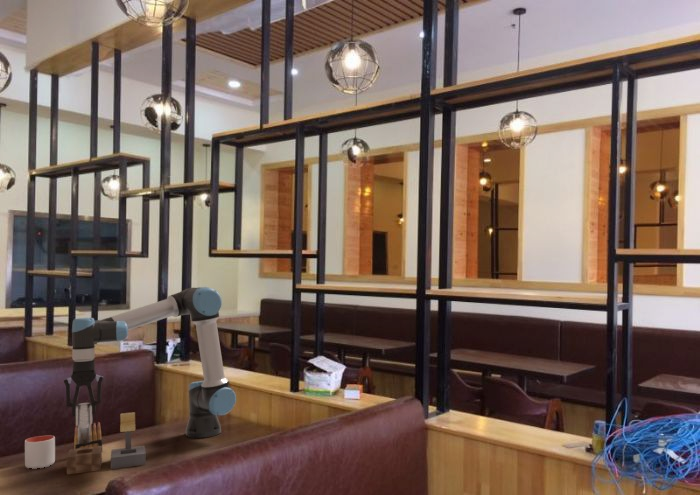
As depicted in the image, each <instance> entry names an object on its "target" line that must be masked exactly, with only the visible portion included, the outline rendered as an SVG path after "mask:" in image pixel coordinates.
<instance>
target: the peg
mask: <svg viewBox="0 0 700 495" xmlns="http://www.w3.org/2000/svg"><path fill="white" fill-rule="evenodd" d="M90 405H91V402H82V403H78V404H77V406H78V426H77V428H78V444H86V443H90Z"/></svg>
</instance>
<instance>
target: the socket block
mask: <svg viewBox="0 0 700 495" xmlns="http://www.w3.org/2000/svg"><path fill="white" fill-rule="evenodd" d="M124 434H125V436H124V440H125V443H124V444H125V445H124V446H125V447H123V448H114V449H111V450H110V470H116V469H123V468H129V467H136V466H137V467H140V466H145V465H146V464H147V463H146V461H147V457H146V454H147V453H146V446H145V445H139V446H132V431H126V432H124Z"/></svg>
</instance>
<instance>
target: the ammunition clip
mask: <svg viewBox="0 0 700 495" xmlns="http://www.w3.org/2000/svg"><path fill="white" fill-rule="evenodd" d="M92 424H93V425H92ZM92 424H90V443H86V444H78V426H76V425H75V427H74V437H73V438H74V439H73V449H78V448H87V447H95V446H102V447H103V440H102V430H101V423H100V422H99V421H98V422H97V426H96V422H93V423H92Z"/></svg>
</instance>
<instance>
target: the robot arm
mask: <svg viewBox="0 0 700 495" xmlns="http://www.w3.org/2000/svg"><path fill="white" fill-rule="evenodd" d="M222 304H223V302H222V297H221V295H220V293H219V292H218V291H217V290H216V289H215V288H212V287H207V286H200V287H189V288H185V289H184V290H182V291H179V292H177V293H173V294H170V295H168V296H167V297H166V298H165V299H162V300H160V301H157V302H154V303H150V304H147V305H143V306H140V307H138V308H135V309H132V310H128V311H125V312H122V313H119V314H115V315H112V316H109V317H107V318H102V319H97V320H95V318H94V317H81V318H80V317H79V318H74V319H73V320H72V326H71V327H72V328H71V335H72V336H71V338H72V350H71V352H72V354H71V355H72V360H73V362H72V374H71V376H70V377H67V378H64V379H63V383H64V386H65V390H66V391H65V395H66V406H67V407H71V408H72V417H75V427H76V426H77V427H78V404H77V403H78V399H79V394H80V391H81V387H82V386H85V387H87V390H88V391H87V392H88V394H89V398H90V424H91V425H92V424H93V415H95V414H96V413H97V412H96V411H97V409H96V405H99V404H101V402H102V382H103V380H104V376H103V375H98V374H97V373H96V368H95V367H96V366H95V365H96V362H95V361H96V360H94V359H95V356H96V355H95V352H96V351H95V350H96V349H95V344H97V343H99V344H100V343H106V342H107V343H108V342H119V341H120V342H121V341H125V340H126V339H127V338H128V333H129V331H130V330H133V329H137V328H140V327H143V326H146V325H149V324H152V323H154V322H155V323H156V322H158V321H161V320H163V319H167V318H170V317H174V318H177V317H180V316H186V315H188V316H189V315H190V321H191V323H193V324H194V325H195V329H196V336H197V342H198V349H199V355H200V362H201V370H202V375H203V380H200V381H199V380H198V381H193V382H191V383H189V384H188V405H189V406H188V408H189V409H188V410H189V418H188V421H187V425H186V428H185V436H186V437H187V436H188V438H191V439H192V438H194V439H197V438H198V439H200V438H209V437H214V436H217V435H220V434H221V433H222V428H221V423H220V421H219V418H218V416H225V415H227V414H229V413H230V412H231V411H232V410H233V408H235V405H236V404H237V403H236V402H237V396H236V392H235V391H234V390H233V389H232V388H231V386H230V381H229V378H228V377H226V376H225V372H224V371H225V369H224V364H223V357H222V351H221V345H220V338H219V331H218V325H217V321H218V319H219V318H220V312H219V311H220V310H221V308H222ZM95 379H96V382H97V388H96V390H97V392H96V393H97V394H96V399H95V394H94V389H93V385H92V383H93V382H94V381H95ZM72 381H73V382H74V384H75V385H76V387H75V391H74V396H73V401H72V395H71V394H72V393H71V383H72Z"/></svg>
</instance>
